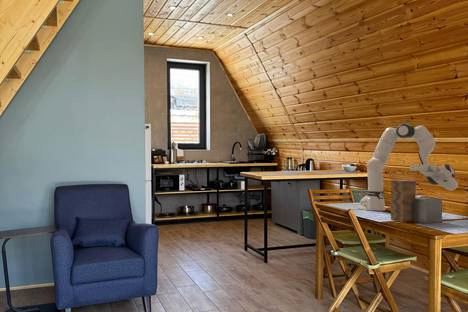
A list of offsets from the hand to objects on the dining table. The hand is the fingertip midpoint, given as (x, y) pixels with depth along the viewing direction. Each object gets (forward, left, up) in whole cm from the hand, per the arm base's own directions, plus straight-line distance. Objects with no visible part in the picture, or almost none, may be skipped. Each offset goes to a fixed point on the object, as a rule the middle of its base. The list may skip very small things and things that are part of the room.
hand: (427, 166), depth 294 cm
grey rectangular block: (0, -4, -2) cm, 5 cm away
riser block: (+11, -13, -34) cm, 38 cm away
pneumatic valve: (-25, +22, -35) cm, 48 cm away
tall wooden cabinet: (0, -22, -34) cm, 41 cm away
